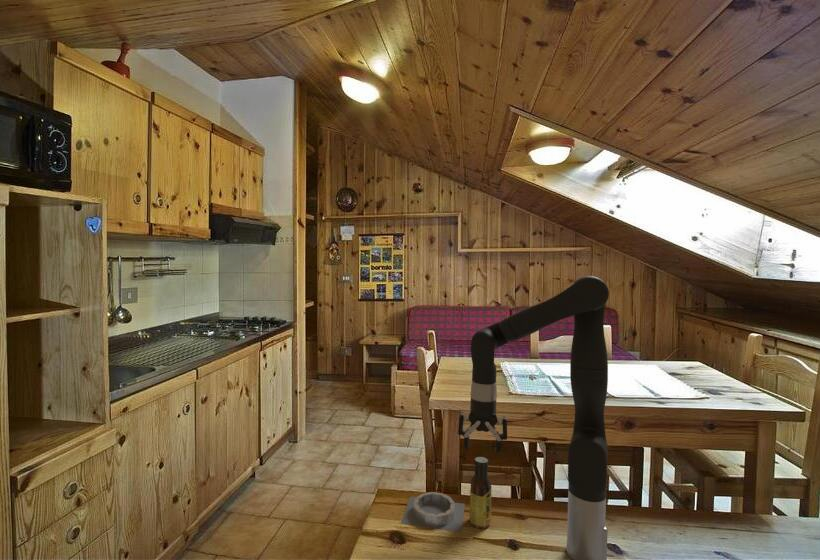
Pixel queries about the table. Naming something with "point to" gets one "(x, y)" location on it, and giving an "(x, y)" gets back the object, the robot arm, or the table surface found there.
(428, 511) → the charcoal base
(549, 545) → the table surface
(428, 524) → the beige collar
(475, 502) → the sauce bottle
